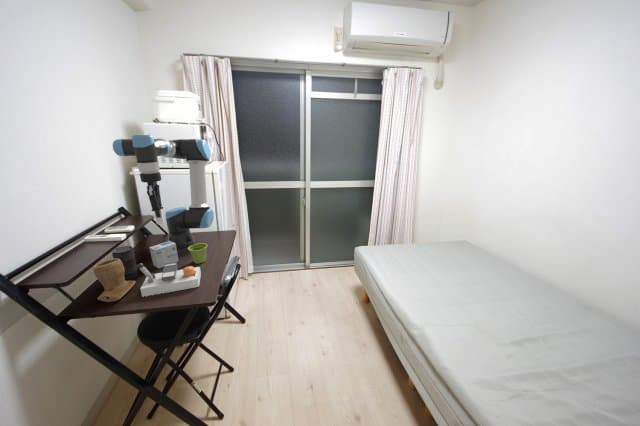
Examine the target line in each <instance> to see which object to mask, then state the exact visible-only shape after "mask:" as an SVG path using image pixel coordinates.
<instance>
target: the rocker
mask: <svg viewBox="0 0 640 426" xmlns="http://www.w3.org/2000/svg"><path fill="white" fill-rule="evenodd" d="M162 269H163V270H162V273H163V274H162V281H168V280H174V279H176V273H177V270H178V261H177V262H172V263H165V264H164V267H163V268H162Z"/></svg>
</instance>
